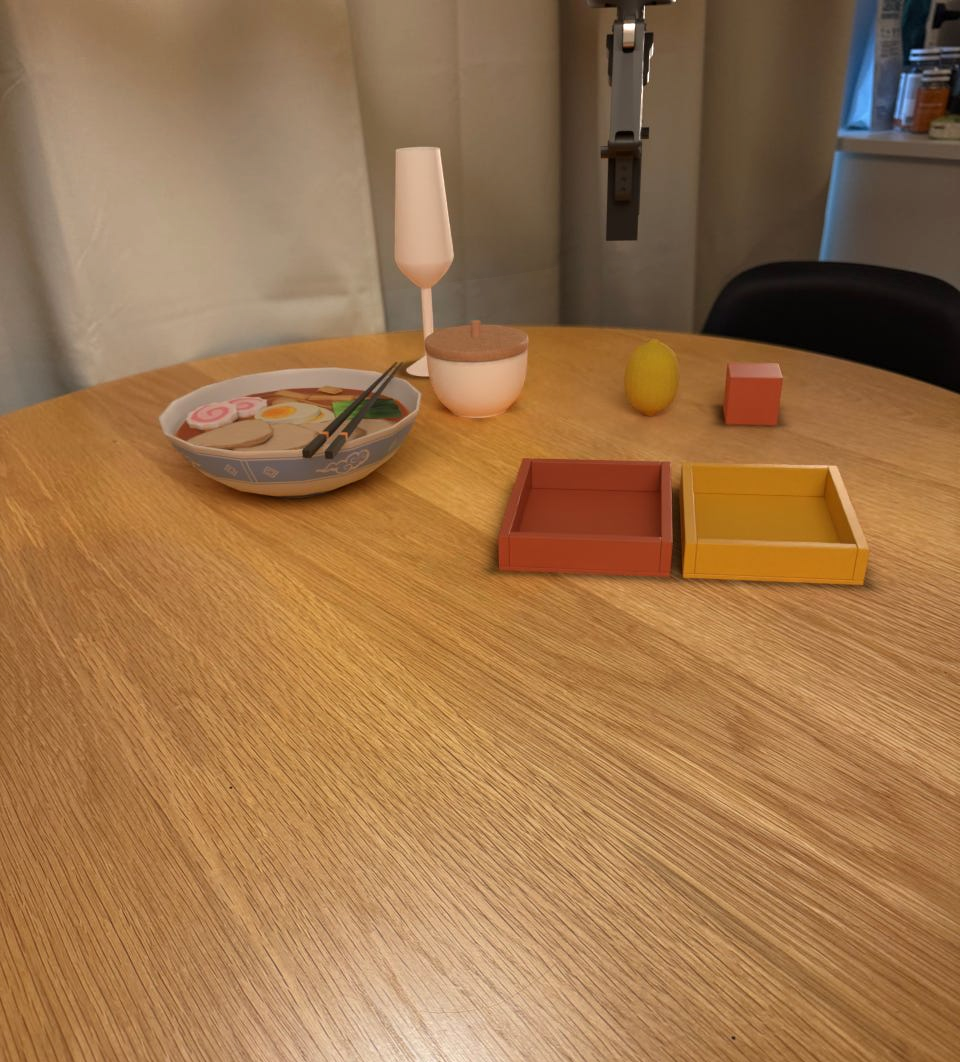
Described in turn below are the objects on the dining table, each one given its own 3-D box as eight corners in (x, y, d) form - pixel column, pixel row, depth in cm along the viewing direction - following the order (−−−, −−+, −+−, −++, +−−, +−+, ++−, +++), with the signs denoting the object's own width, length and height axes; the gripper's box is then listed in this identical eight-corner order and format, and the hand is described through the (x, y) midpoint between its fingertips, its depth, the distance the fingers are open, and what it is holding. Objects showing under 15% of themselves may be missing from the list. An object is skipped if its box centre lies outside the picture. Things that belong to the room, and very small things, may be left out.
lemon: (663, 429, 100) (668, 349, 96) (613, 420, 103) (616, 342, 99) (685, 413, 104) (691, 335, 100) (636, 405, 107) (640, 329, 103)
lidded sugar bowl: (482, 435, 101) (478, 340, 96) (408, 414, 107) (401, 324, 102) (549, 407, 107) (549, 317, 102) (476, 389, 114) (473, 303, 109)
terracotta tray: (668, 495, 86) (670, 461, 85) (669, 580, 73) (672, 541, 72) (523, 491, 88) (522, 457, 87) (498, 573, 75) (497, 535, 74)
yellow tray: (831, 500, 84) (837, 465, 83) (862, 588, 71) (870, 549, 70) (679, 495, 86) (681, 461, 85) (682, 580, 73) (685, 542, 72)
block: (772, 411, 104) (778, 363, 101) (776, 427, 100) (783, 377, 97) (722, 410, 105) (727, 362, 102) (725, 426, 101) (730, 377, 98)
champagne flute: (391, 374, 120) (373, 151, 107) (425, 360, 124) (412, 145, 112) (436, 382, 116) (423, 153, 104) (470, 368, 121) (461, 146, 108)
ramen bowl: (240, 431, 104) (227, 352, 100) (455, 440, 100) (451, 358, 95) (119, 535, 83) (96, 441, 79) (384, 552, 79) (375, 453, 75)
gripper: (594, -40, 93) (590, 206, 104) (577, -58, 72) (574, 253, 83) (676, -44, 92) (663, 205, 103) (683, -64, 71) (665, 252, 82)
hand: (623, 227), depth 93 cm, fingers open, 13 cm apart
